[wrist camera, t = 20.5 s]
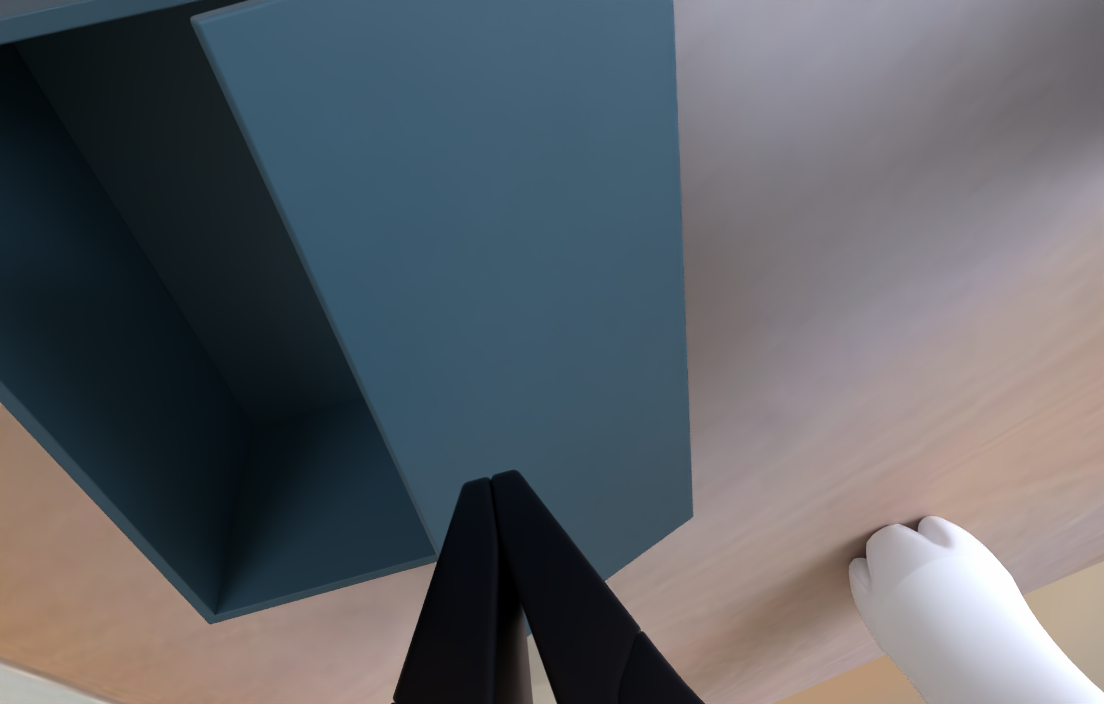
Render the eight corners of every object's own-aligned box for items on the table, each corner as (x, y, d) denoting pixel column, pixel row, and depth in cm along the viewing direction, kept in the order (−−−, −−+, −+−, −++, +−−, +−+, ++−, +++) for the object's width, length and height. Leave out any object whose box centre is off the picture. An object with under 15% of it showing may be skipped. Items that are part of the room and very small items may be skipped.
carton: (545, -140, 15) (649, -122, 9) (608, 335, 24) (682, 494, 18) (-34, -18, 14) (-302, 82, 9) (249, 428, 23) (209, 625, 17)
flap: (650, -114, 9) (670, -114, 9) (683, 507, 18) (694, 516, 17) (186, 16, 7) (193, 21, 7) (480, 651, 15) (489, 665, 15)
